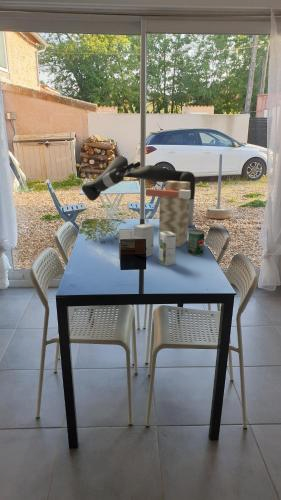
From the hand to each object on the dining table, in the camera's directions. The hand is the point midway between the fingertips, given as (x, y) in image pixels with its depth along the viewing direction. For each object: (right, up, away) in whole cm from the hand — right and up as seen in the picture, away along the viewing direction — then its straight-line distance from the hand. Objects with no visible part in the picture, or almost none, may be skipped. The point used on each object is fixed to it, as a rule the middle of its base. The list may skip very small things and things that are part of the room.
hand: (136, 163), depth 194 cm
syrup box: (+14, -51, -22) cm, 58 cm away
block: (+16, -17, -1) cm, 24 cm away
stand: (+20, -41, +8) cm, 46 cm away
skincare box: (+3, -47, -12) cm, 49 cm away
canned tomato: (+29, -46, -8) cm, 55 cm away
